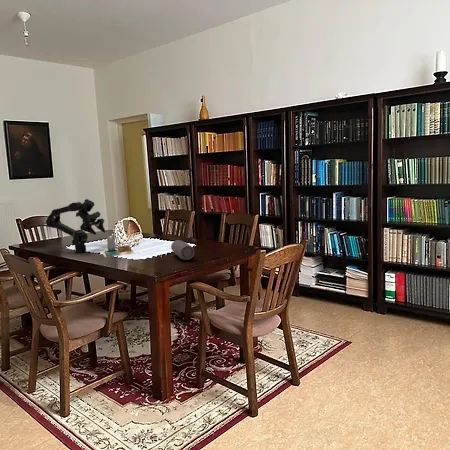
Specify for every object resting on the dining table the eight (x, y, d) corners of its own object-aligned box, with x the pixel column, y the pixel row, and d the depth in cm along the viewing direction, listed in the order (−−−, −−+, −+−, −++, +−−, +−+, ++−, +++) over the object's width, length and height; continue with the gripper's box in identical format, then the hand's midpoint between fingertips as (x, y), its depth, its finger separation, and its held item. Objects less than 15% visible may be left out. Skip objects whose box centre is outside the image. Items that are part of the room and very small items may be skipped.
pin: (107, 255, 271) (106, 236, 269) (109, 254, 275) (107, 235, 274) (114, 255, 271) (113, 236, 269) (116, 253, 275) (114, 235, 274)
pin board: (105, 258, 267) (104, 253, 267) (101, 253, 284) (101, 248, 283) (135, 255, 274) (135, 249, 274) (130, 250, 291) (130, 245, 290)
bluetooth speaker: (170, 255, 267) (169, 240, 266) (185, 254, 271) (184, 238, 269) (180, 262, 246) (179, 245, 245) (195, 260, 250) (194, 243, 248)
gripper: (81, 209, 275) (97, 226, 272) (100, 206, 292) (115, 222, 289) (73, 221, 279) (88, 238, 276) (92, 218, 296) (107, 234, 293)
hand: (100, 233), depth 284 cm, fingers open, 9 cm apart
